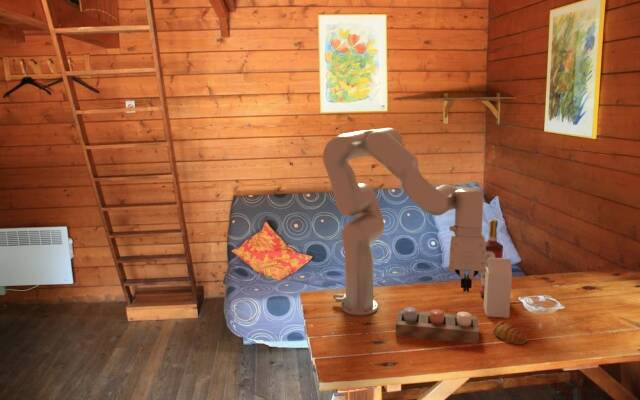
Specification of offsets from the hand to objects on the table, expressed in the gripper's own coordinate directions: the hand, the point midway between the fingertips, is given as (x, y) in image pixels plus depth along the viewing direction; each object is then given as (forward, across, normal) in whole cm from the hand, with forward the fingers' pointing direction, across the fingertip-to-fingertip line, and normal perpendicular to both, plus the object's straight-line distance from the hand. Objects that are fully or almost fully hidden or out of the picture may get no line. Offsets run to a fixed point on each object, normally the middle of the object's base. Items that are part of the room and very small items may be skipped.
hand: (465, 289), depth 142 cm
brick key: (+12, -8, 0) cm, 15 cm away
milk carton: (+15, +11, +17) cm, 25 cm away
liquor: (+15, +10, +30) cm, 35 cm away
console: (+15, -8, 0) cm, 17 cm away
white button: (+12, 0, 0) cm, 12 cm away
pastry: (+15, +13, +2) cm, 20 cm away
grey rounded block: (+12, -16, 0) cm, 20 cm away
